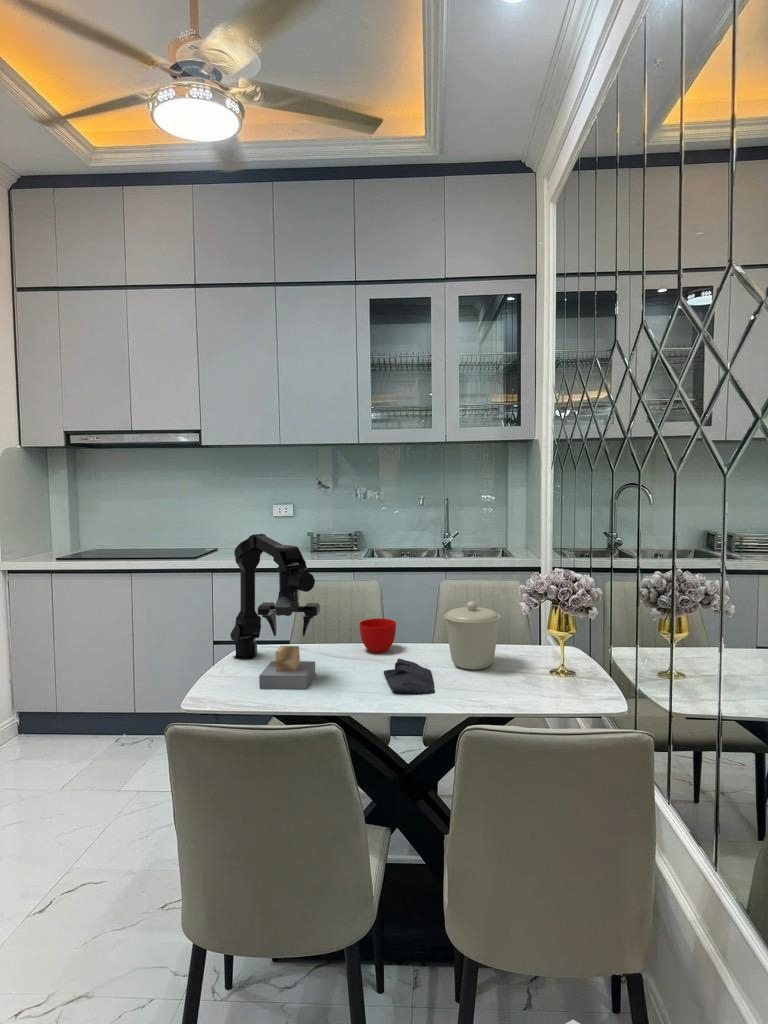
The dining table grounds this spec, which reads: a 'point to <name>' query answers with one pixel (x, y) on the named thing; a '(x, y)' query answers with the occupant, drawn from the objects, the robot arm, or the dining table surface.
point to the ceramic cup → (377, 634)
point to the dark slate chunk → (410, 678)
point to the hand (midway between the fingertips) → (289, 636)
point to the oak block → (287, 658)
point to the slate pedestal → (287, 676)
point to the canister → (472, 636)
